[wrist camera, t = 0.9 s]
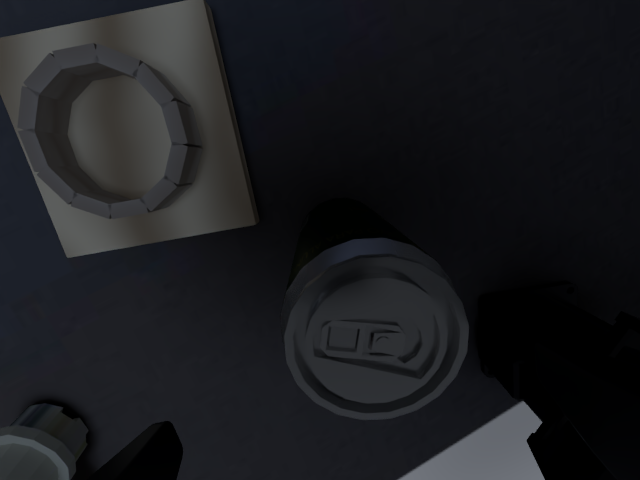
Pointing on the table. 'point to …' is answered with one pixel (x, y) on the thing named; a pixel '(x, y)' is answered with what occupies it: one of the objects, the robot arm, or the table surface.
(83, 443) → the grey elongated piece
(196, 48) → the socket board
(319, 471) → the table surface
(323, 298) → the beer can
